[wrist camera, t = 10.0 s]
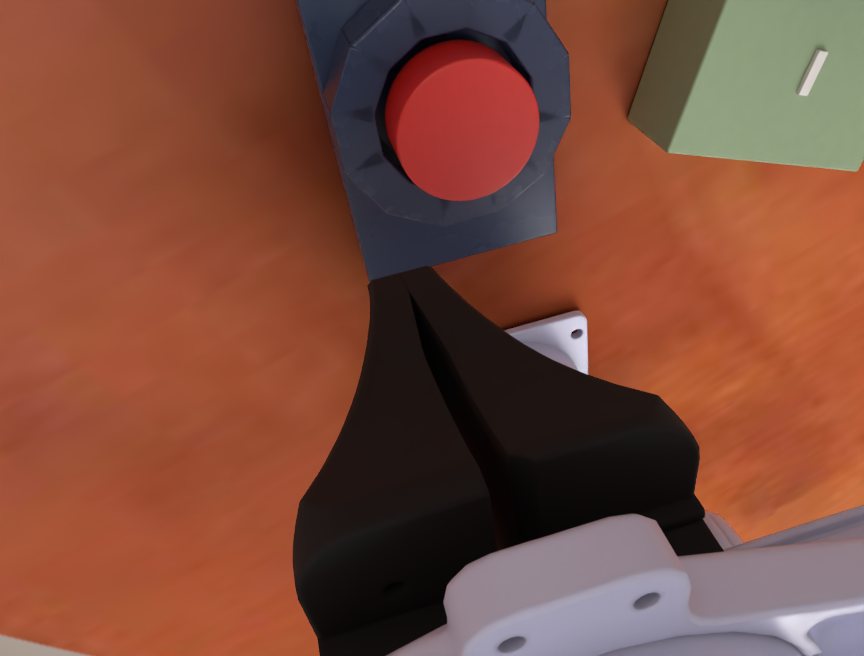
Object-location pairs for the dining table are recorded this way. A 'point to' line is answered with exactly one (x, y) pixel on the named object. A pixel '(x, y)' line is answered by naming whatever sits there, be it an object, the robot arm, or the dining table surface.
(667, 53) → the green toggle switch panel
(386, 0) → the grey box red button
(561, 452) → the robot arm
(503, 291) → the dining table surface
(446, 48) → the button
